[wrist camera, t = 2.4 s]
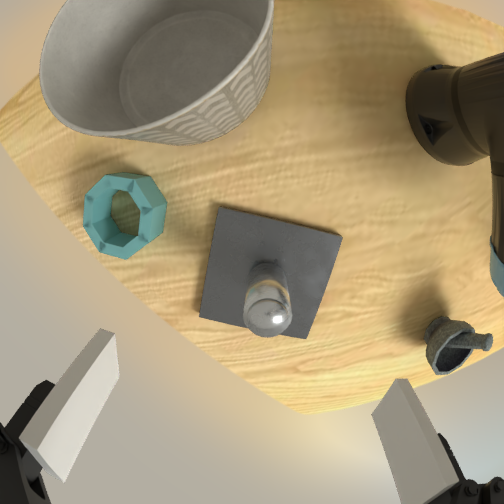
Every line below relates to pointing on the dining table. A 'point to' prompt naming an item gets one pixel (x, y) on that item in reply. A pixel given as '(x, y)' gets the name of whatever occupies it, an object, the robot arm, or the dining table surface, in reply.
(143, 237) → the ring
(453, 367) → the mortar and pestle
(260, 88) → the planter
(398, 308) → the dining table surface
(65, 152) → the dining table surface
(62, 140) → the dining table surface
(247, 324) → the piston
